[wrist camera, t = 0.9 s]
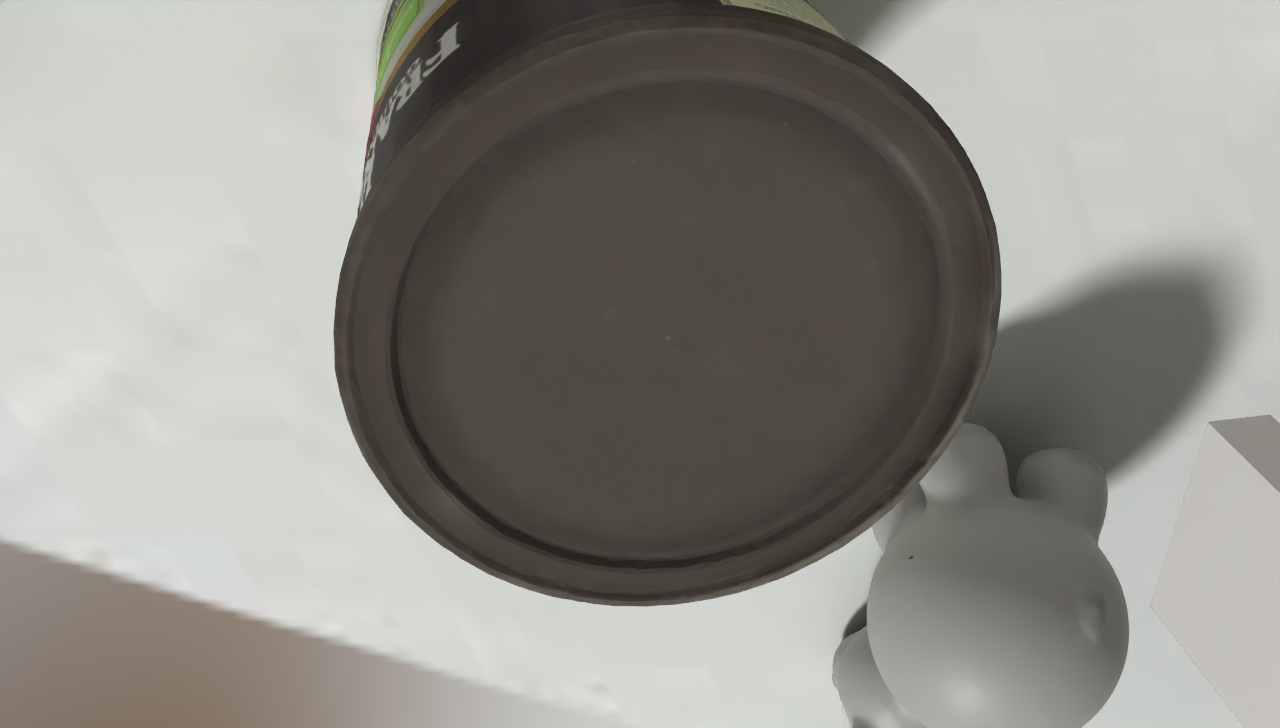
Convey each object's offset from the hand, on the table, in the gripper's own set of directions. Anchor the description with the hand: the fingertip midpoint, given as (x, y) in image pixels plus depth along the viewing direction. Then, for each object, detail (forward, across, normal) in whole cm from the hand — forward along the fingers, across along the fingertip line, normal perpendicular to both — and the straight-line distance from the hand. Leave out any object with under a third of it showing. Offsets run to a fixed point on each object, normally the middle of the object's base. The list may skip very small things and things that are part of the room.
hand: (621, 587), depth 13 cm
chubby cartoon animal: (+19, -13, +18) cm, 29 cm away
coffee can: (+20, -3, +2) cm, 20 cm away
